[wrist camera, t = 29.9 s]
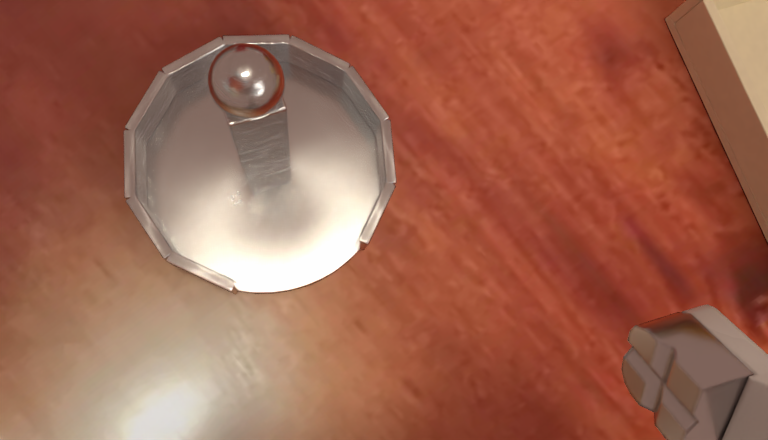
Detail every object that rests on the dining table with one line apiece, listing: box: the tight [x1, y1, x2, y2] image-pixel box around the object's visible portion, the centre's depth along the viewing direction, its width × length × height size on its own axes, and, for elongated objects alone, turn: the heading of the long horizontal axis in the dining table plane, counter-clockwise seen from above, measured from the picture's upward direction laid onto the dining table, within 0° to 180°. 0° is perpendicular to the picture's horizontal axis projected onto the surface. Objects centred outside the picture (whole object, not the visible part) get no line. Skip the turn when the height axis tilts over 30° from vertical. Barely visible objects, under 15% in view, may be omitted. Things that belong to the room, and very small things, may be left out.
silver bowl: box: [124, 34, 396, 294], centre depth 24 cm, size 12×12×12 cm
